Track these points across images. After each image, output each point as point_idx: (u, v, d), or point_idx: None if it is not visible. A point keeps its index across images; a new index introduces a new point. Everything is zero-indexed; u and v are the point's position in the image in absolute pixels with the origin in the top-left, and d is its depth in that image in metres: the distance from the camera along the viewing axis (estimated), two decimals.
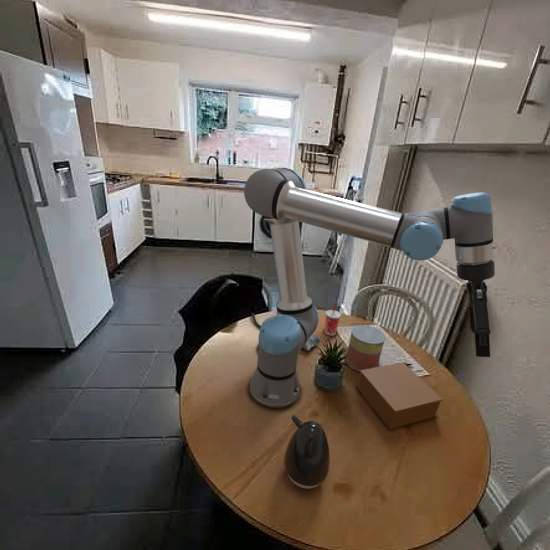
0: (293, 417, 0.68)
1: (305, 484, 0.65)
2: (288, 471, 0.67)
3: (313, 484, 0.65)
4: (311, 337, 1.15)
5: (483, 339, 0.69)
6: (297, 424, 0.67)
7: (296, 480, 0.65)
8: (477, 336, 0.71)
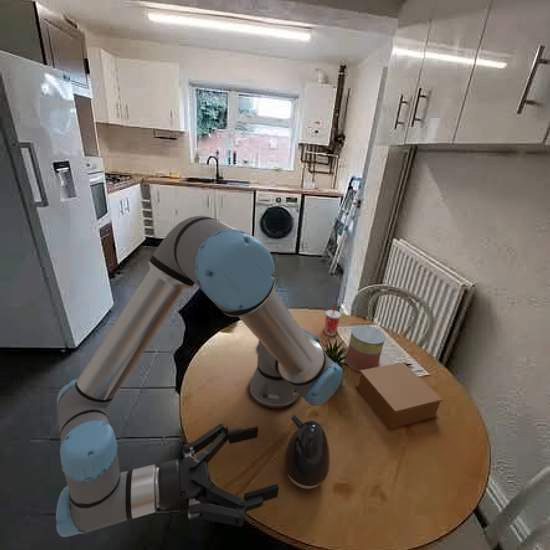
0: (293, 417, 0.68)
1: (305, 484, 0.65)
2: (288, 471, 0.67)
3: (313, 484, 0.65)
4: (311, 337, 1.15)
5: None
6: (297, 424, 0.67)
7: (296, 480, 0.65)
8: None
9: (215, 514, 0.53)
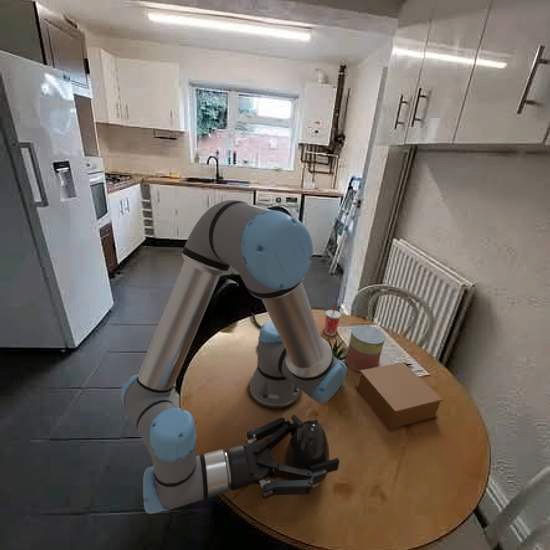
0: (293, 417, 0.68)
1: None
2: None
3: (313, 483, 0.65)
4: None
5: None
6: (297, 424, 0.68)
7: None
8: None
9: (287, 488, 0.59)
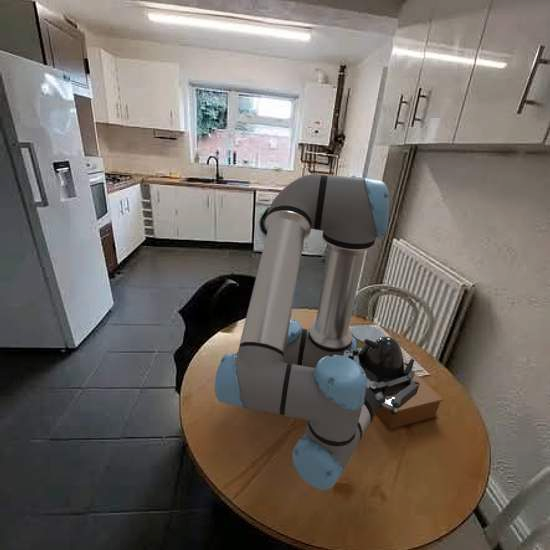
0: (367, 340, 0.69)
1: (396, 393, 0.69)
2: None
3: None
4: None
5: None
6: (373, 345, 0.69)
7: None
8: None
9: (407, 395, 0.61)
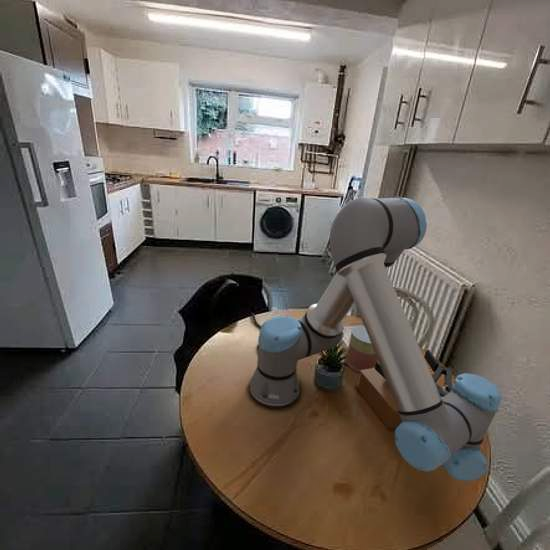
0: None
1: None
2: None
3: None
4: None
5: None
6: None
7: None
8: None
9: None
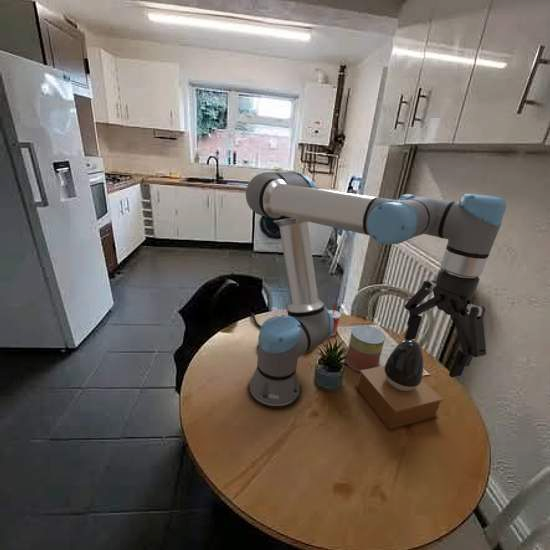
0: (400, 348, 0.84)
1: None
2: (413, 383, 0.85)
3: None
4: None
5: (469, 359, 0.63)
6: (404, 350, 0.84)
7: (419, 383, 0.86)
8: (461, 357, 0.64)
9: None
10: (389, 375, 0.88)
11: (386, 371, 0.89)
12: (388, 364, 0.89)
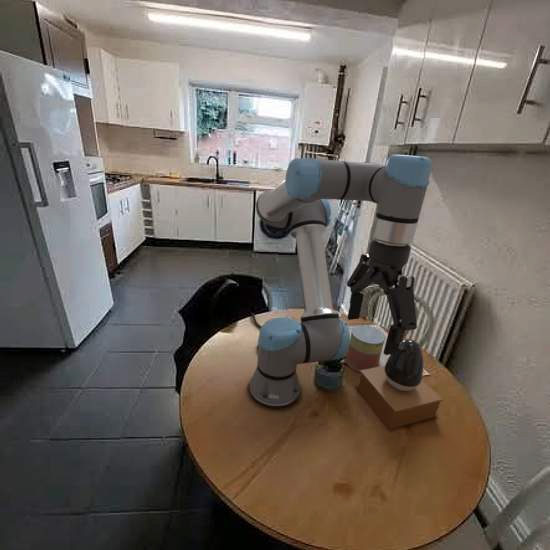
0: (400, 348, 0.84)
1: None
2: (413, 383, 0.85)
3: None
4: None
5: (401, 335, 0.59)
6: (404, 350, 0.84)
7: (419, 383, 0.86)
8: (393, 332, 0.59)
9: None
10: (389, 375, 0.88)
11: (386, 371, 0.89)
12: (388, 364, 0.89)
